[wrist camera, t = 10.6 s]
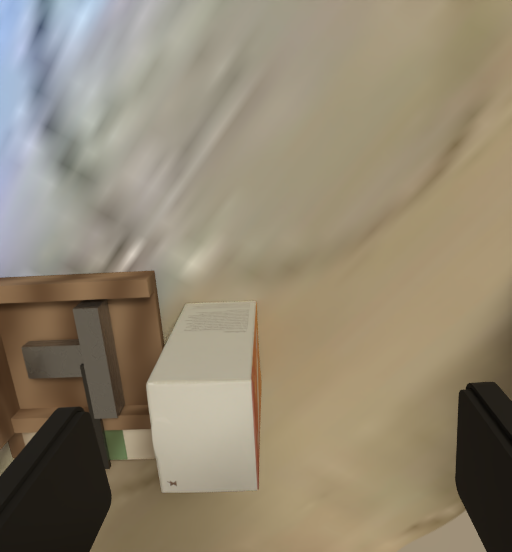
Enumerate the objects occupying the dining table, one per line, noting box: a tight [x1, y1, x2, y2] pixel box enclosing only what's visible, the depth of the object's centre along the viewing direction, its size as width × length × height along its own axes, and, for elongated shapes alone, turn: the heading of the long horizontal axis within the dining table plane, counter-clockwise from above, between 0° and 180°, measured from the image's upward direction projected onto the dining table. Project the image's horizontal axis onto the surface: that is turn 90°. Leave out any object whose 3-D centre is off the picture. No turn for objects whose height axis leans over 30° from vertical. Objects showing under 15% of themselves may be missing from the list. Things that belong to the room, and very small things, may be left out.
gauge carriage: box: [21, 299, 125, 469], centre depth 37 cm, size 8×16×2 cm, turn 3°
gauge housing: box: [0, 271, 164, 460], centre depth 35 cm, size 16×18×9 cm
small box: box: [146, 301, 261, 493], centre depth 32 cm, size 8×6×13 cm
